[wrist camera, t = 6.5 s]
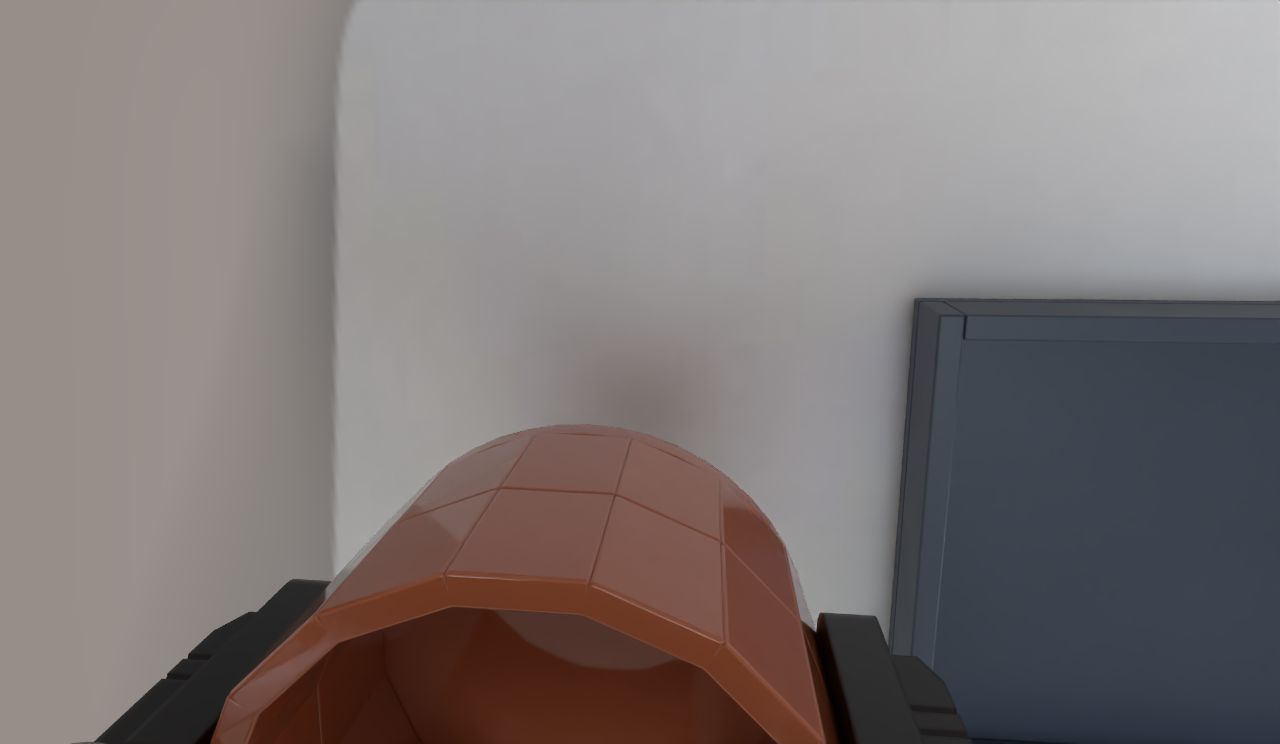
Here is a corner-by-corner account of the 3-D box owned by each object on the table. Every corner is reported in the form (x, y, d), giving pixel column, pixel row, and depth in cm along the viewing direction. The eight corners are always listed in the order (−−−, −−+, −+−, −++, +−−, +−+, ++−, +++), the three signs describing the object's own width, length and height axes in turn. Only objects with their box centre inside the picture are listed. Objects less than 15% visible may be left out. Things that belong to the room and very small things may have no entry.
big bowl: (384, 798, 13) (225, 1105, 9) (362, 412, 12) (157, 553, 7) (791, 832, 13) (834, 1175, 8) (824, 434, 11) (898, 601, 7)
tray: (881, 738, 24) (898, 801, 22) (914, 298, 21) (939, 314, 19) (1436, 771, 23) (1520, 841, 21) (1561, 304, 20) (1678, 322, 17)
